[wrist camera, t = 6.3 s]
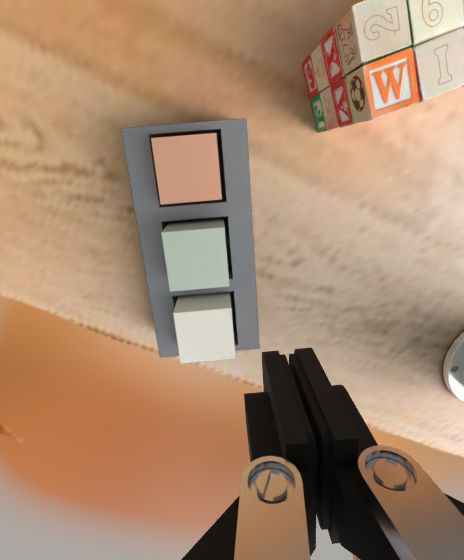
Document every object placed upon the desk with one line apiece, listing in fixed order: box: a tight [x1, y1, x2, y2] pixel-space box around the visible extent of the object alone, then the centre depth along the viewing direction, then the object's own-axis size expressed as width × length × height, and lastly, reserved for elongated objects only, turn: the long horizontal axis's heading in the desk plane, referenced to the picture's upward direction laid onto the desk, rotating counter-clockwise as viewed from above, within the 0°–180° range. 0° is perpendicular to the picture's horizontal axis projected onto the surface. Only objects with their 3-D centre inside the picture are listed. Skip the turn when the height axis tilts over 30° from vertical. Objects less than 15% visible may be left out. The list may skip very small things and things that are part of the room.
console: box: [121, 118, 260, 357], centre depth 33 cm, size 10×21×5 cm, turn 4°
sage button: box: [161, 218, 229, 292], centre depth 30 cm, size 5×5×5 cm
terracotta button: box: [151, 133, 222, 204], centre depth 29 cm, size 5×5×5 cm
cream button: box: [173, 291, 236, 363], centre depth 32 cm, size 5×5×5 cm
